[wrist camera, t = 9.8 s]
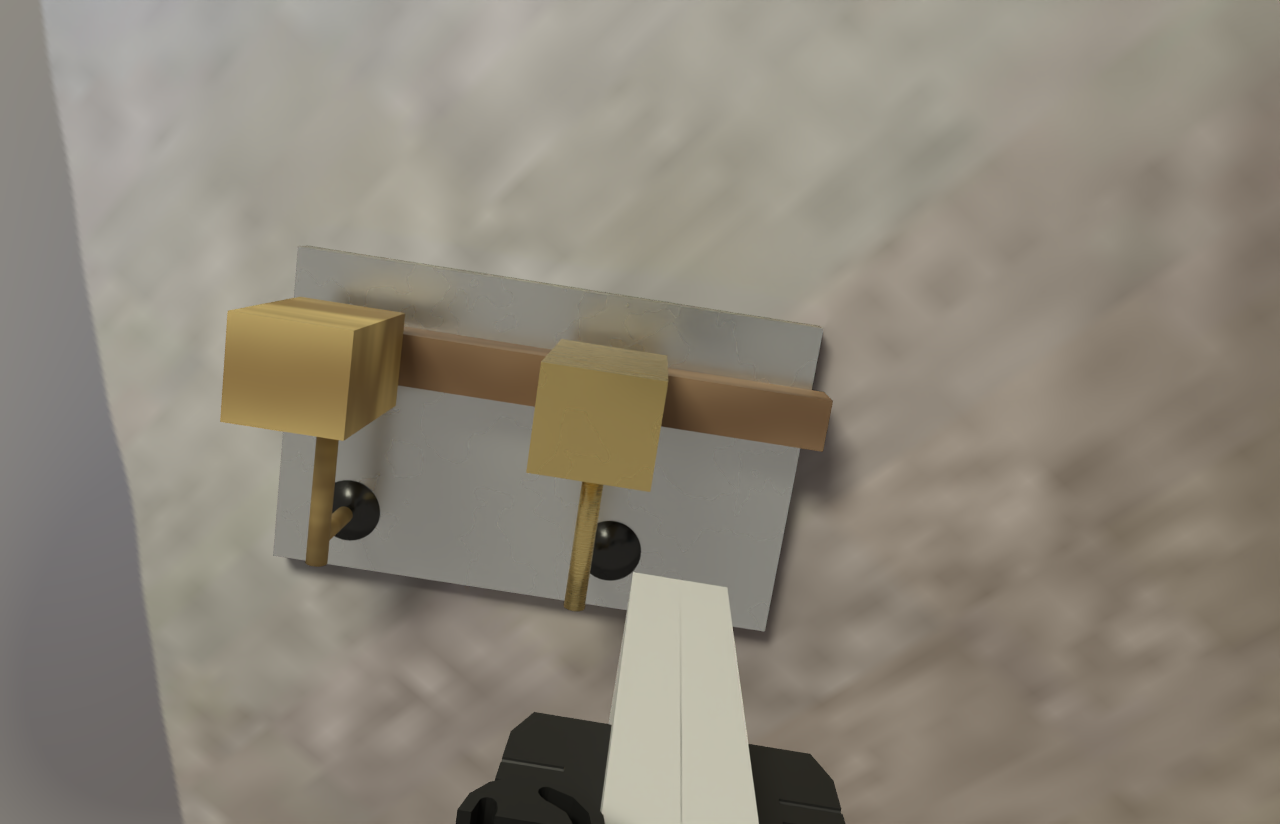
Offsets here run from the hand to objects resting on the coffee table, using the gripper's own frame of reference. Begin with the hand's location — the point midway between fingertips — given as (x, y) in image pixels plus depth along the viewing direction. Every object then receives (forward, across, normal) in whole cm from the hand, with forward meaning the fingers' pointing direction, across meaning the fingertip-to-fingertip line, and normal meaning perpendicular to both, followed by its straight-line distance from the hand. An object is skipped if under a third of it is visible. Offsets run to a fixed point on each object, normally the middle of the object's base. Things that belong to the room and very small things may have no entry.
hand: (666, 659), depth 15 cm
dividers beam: (+23, -5, -3) cm, 24 cm away
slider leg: (+23, -3, -3) cm, 23 cm away
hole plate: (+24, -5, -3) cm, 25 cm away
